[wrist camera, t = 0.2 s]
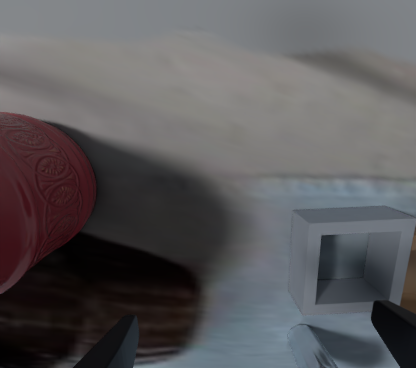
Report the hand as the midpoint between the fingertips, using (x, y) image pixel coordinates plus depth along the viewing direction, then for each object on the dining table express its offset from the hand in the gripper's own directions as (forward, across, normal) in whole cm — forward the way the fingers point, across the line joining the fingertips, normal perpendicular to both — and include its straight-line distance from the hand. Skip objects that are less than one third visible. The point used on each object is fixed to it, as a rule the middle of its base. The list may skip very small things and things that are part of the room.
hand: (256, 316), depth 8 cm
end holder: (+14, -12, +6) cm, 20 cm away
